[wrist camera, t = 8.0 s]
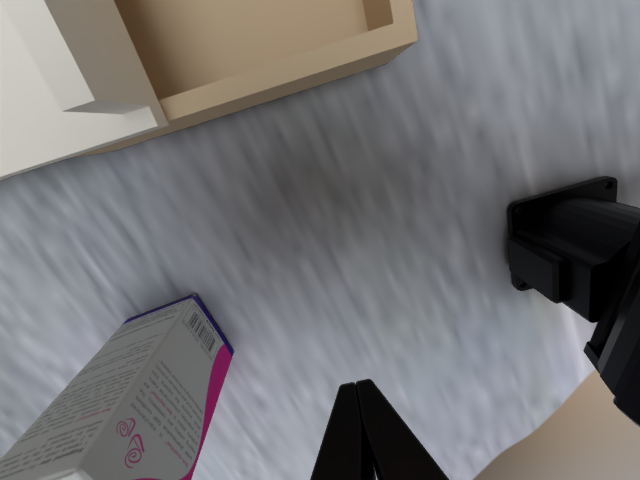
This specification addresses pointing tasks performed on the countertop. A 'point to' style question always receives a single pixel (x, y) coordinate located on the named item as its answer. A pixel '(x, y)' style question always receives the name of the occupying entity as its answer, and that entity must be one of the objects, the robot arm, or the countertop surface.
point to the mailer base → (254, 50)
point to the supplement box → (132, 404)
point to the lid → (68, 82)
